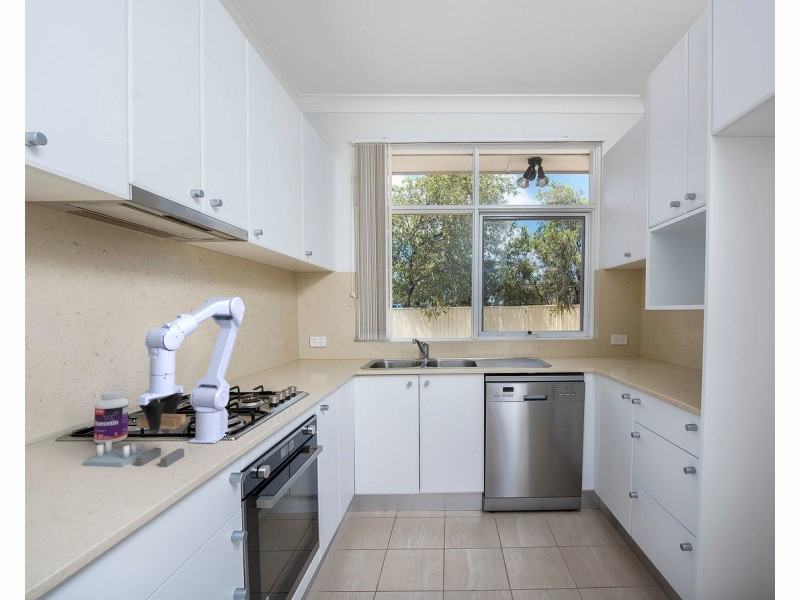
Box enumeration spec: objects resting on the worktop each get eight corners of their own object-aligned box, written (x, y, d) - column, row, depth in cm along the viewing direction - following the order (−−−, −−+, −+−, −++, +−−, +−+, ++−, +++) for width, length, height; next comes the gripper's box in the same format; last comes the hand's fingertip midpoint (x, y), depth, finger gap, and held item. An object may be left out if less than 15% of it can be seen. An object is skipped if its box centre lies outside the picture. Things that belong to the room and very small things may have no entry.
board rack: (155, 455, 103) (155, 447, 103) (184, 456, 103) (184, 448, 103) (135, 465, 96) (135, 457, 96) (166, 466, 96) (166, 458, 96)
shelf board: (149, 422, 102) (149, 413, 102) (185, 423, 102) (185, 414, 102) (136, 428, 98) (136, 418, 98) (174, 429, 97) (174, 419, 97)
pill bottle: (87, 446, 110) (88, 395, 110) (103, 437, 117) (104, 389, 118) (119, 444, 111) (120, 394, 111) (132, 435, 119) (133, 388, 119)
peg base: (113, 452, 105) (113, 437, 105) (147, 453, 104) (148, 438, 105) (83, 465, 96) (84, 449, 96) (121, 466, 96) (121, 450, 96)
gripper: (166, 369, 108) (165, 417, 107) (126, 378, 93) (124, 434, 93) (190, 369, 107) (189, 418, 107) (154, 379, 93) (152, 435, 92)
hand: (161, 426), depth 100 cm, fingers closed on shelf board, 4 cm apart
